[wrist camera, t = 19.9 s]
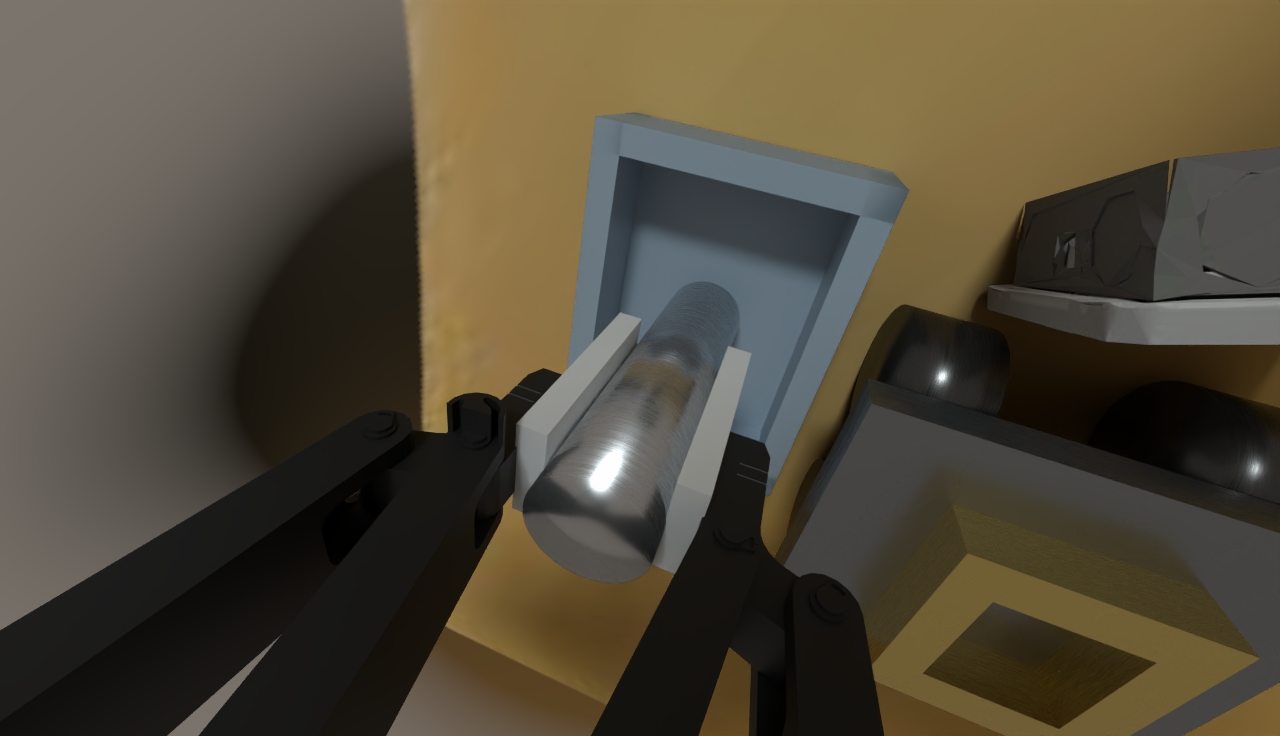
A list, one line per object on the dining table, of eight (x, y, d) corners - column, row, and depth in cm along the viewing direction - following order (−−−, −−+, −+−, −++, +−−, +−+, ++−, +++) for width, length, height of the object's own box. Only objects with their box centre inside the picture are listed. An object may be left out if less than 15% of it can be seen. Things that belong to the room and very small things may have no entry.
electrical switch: (976, 306, 19) (1096, 419, 11) (996, 161, 17) (1159, 166, 9) (1321, 297, 15) (1868, 449, 7) (1393, 117, 14) (2228, 59, 6)
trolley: (875, 277, 19) (908, 392, 12) (1287, 389, 17) (1657, 623, 9) (769, 505, 26) (748, 665, 19) (1047, 607, 24) (1148, 838, 16)
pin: (677, 272, 19) (526, 454, 10) (749, 293, 19) (669, 510, 9) (661, 336, 21) (518, 549, 11) (728, 357, 21) (640, 601, 11)
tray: (634, 112, 19) (595, 116, 16) (892, 172, 17) (909, 190, 14) (594, 379, 26) (561, 420, 23) (776, 441, 24) (768, 495, 21)
